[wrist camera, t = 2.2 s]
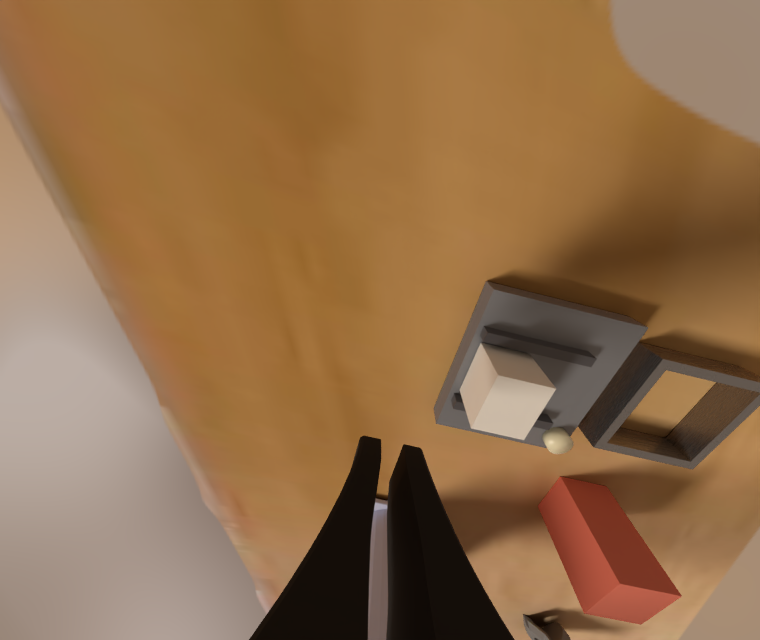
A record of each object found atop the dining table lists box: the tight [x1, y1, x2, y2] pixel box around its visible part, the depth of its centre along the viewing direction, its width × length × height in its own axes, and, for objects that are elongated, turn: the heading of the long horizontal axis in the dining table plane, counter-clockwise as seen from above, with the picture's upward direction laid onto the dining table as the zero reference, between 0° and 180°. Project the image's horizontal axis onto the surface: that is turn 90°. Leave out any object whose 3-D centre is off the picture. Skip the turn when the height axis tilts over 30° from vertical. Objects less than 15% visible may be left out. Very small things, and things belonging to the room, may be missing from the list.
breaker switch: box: [460, 343, 556, 440], centre depth 16 cm, size 4×3×3 cm
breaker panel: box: [434, 281, 648, 454], centre depth 18 cm, size 10×9×2 cm
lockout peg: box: [538, 476, 681, 624], centre depth 21 cm, size 4×4×7 cm
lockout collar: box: [578, 342, 760, 469], centre depth 19 cm, size 7×7×2 cm
